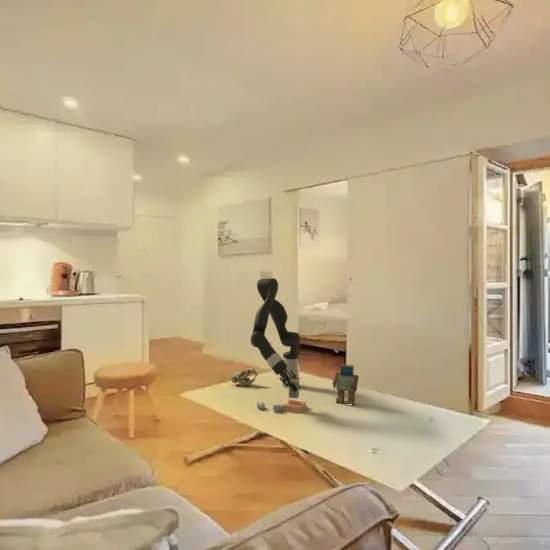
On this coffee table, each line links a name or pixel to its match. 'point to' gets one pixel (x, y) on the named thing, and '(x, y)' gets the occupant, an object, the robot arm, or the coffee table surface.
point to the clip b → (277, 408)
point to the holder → (294, 406)
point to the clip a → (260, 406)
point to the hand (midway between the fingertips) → (297, 389)
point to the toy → (346, 383)
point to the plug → (296, 383)
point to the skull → (243, 377)
